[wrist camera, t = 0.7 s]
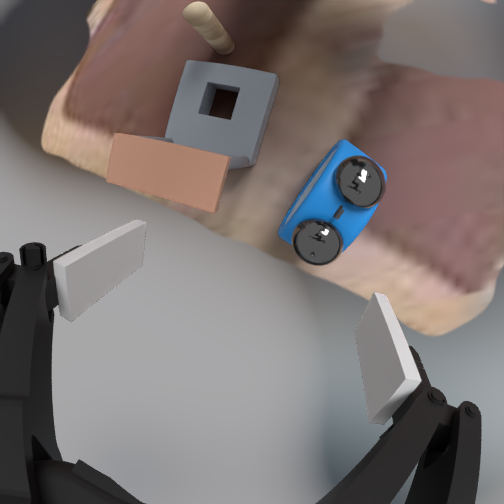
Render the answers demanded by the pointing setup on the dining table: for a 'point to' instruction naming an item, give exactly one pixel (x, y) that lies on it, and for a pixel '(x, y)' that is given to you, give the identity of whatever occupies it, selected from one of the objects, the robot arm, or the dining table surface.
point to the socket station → (198, 137)
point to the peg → (208, 27)
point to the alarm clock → (334, 205)
